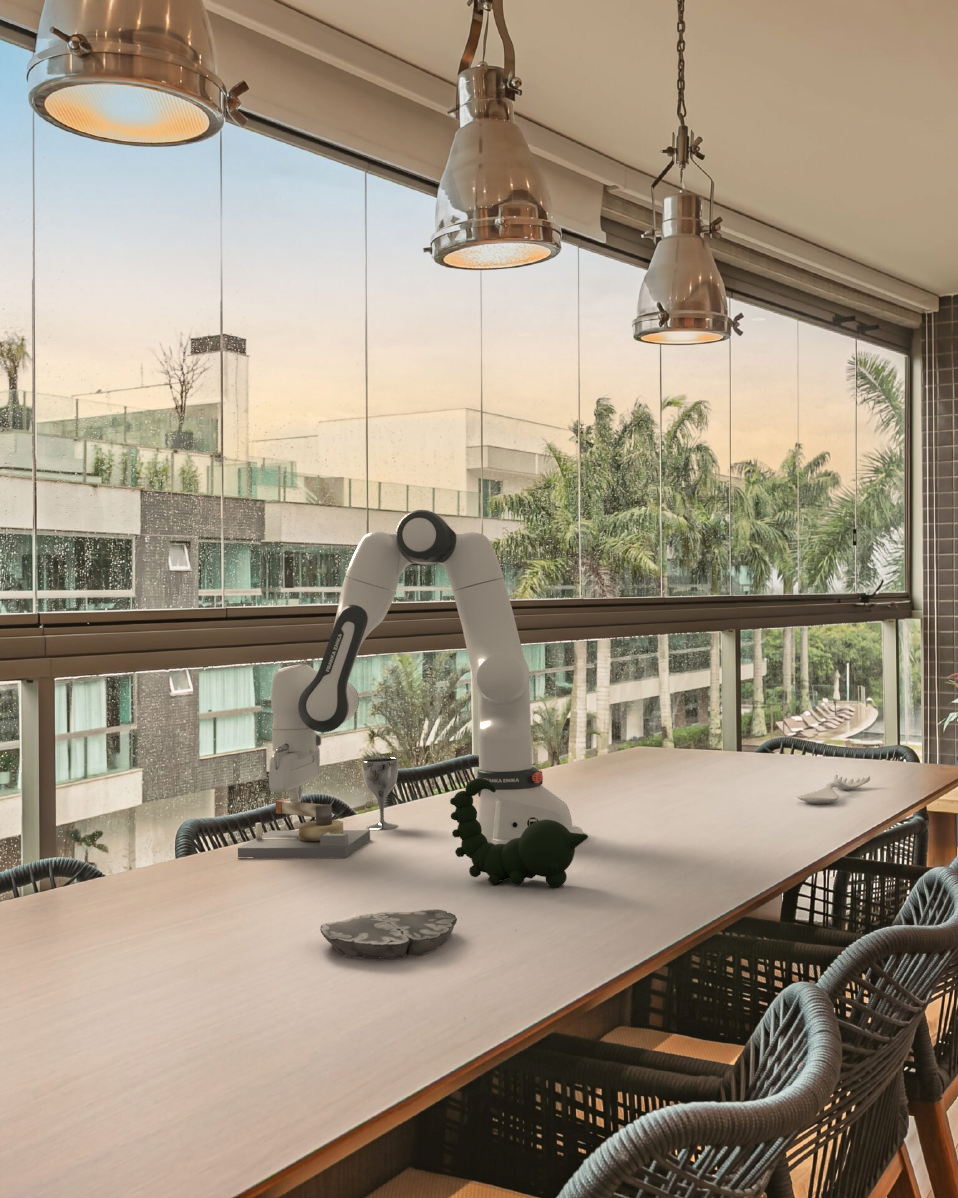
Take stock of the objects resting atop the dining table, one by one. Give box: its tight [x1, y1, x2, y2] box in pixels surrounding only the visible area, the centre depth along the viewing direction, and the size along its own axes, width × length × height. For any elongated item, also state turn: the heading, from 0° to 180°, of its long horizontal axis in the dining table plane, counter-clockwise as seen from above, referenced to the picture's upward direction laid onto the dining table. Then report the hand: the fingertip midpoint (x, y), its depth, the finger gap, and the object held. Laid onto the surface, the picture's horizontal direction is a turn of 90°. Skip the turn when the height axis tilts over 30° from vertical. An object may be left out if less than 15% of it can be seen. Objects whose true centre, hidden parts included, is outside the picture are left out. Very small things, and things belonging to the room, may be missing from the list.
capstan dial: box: [275, 799, 344, 841], centre depth 232 cm, size 17×9×6 cm, turn 50°
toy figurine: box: [449, 777, 589, 889], centre depth 193 cm, size 9×19×25 cm
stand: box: [237, 822, 371, 859], centre depth 230 cm, size 22×18×5 cm
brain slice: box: [319, 909, 458, 960], centre depth 159 cm, size 20×17×3 cm
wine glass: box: [361, 756, 399, 831], centre depth 251 cm, size 8×8×15 cm
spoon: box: [796, 774, 871, 805], centre depth 269 cm, size 9×32×4 cm, turn 144°
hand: (295, 807), depth 237 cm, fingers closed
